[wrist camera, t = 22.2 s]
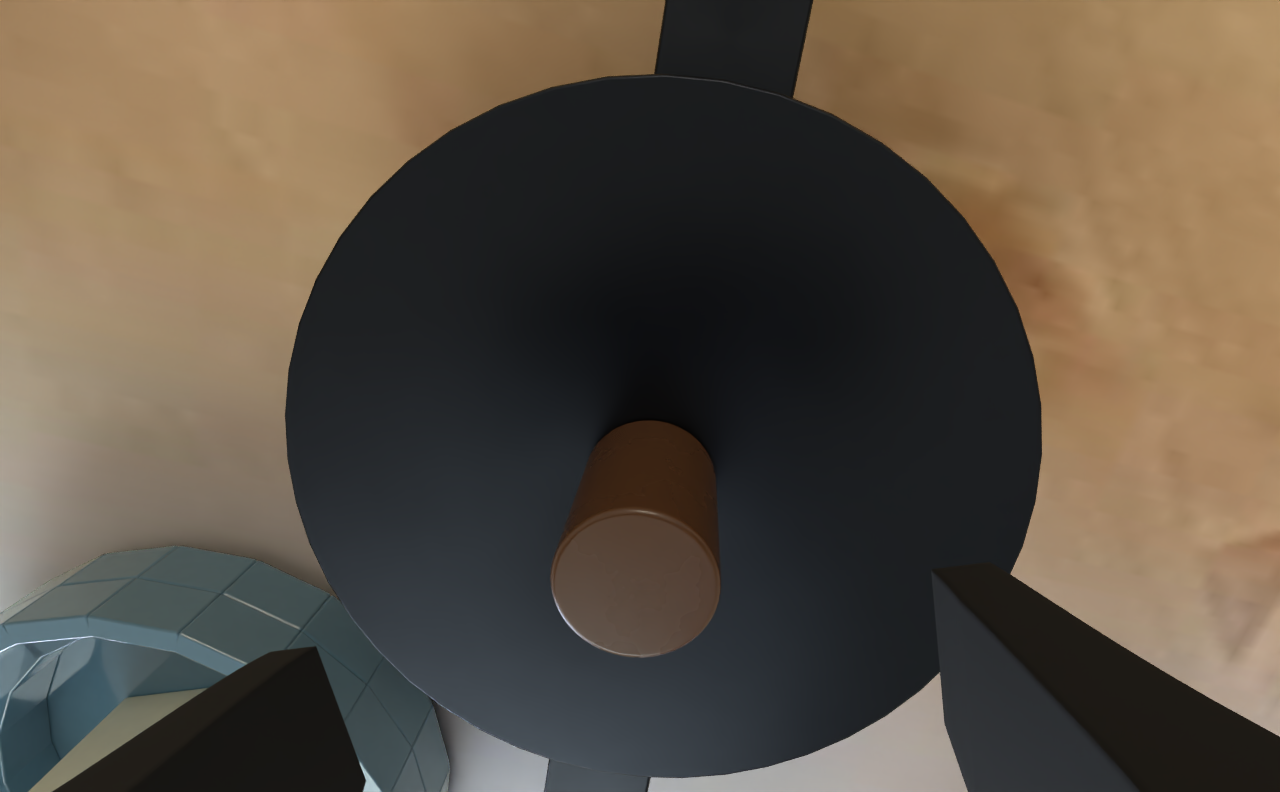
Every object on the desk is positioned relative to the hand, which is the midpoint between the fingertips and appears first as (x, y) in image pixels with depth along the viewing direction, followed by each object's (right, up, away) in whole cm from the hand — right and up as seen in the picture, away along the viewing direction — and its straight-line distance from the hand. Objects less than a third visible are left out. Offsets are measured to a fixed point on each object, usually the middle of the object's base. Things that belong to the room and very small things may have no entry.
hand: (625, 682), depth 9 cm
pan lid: (0, +2, +6) cm, 6 cm away
